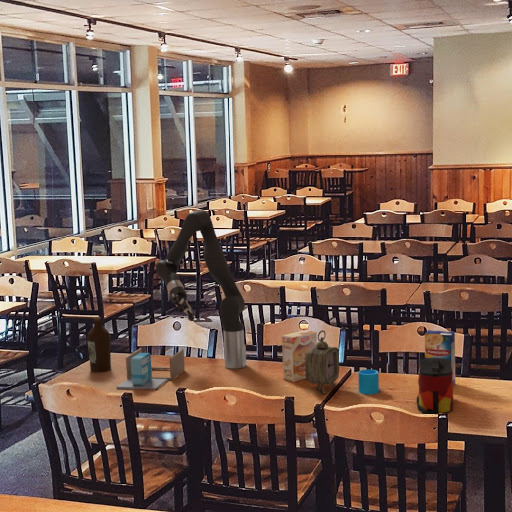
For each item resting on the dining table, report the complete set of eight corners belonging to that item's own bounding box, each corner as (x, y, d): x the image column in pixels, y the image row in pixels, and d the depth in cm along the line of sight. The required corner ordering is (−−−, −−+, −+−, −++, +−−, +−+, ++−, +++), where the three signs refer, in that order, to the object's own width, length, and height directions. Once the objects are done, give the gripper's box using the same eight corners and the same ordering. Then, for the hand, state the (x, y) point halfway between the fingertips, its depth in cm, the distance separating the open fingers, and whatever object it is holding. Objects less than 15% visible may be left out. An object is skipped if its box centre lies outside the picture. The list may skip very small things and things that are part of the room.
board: (167, 381, 382) (167, 379, 382) (156, 390, 369) (155, 387, 369) (129, 380, 387) (129, 377, 387) (116, 388, 373) (116, 386, 373)
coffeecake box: (294, 382, 373) (292, 337, 371) (282, 379, 378) (281, 335, 376) (318, 375, 383) (317, 331, 380) (307, 372, 388) (305, 329, 386)
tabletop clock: (325, 395, 351) (323, 335, 347) (304, 393, 355) (302, 333, 352) (339, 386, 363) (338, 327, 360) (320, 384, 368) (318, 326, 364)
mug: (377, 394, 349) (377, 374, 348) (357, 394, 351) (357, 374, 350) (380, 386, 361) (380, 367, 360) (361, 386, 363) (360, 366, 362)
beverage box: (451, 388, 354) (451, 335, 352) (425, 385, 359) (424, 333, 356) (455, 383, 360) (455, 331, 358) (429, 381, 365) (428, 330, 362)
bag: (454, 417, 317) (453, 373, 315) (415, 416, 320) (414, 373, 318) (452, 394, 346) (452, 354, 344) (417, 393, 349) (416, 353, 347)
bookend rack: (184, 370, 400) (183, 349, 399) (171, 380, 383) (170, 358, 382) (141, 369, 405) (140, 348, 404) (127, 379, 389) (125, 357, 387)
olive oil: (106, 365, 415) (102, 314, 412) (116, 369, 406) (112, 317, 403) (85, 369, 409) (82, 317, 406) (95, 373, 400) (91, 320, 397)
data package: (141, 386, 372) (140, 358, 371) (132, 385, 373) (130, 358, 372) (152, 378, 384) (150, 352, 382) (142, 378, 385) (141, 351, 383)
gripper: (174, 279, 401) (185, 304, 390) (191, 294, 411) (202, 318, 400) (161, 289, 402) (172, 313, 391) (178, 303, 412) (189, 327, 401)
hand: (187, 315), depth 395 cm, fingers open, 8 cm apart
